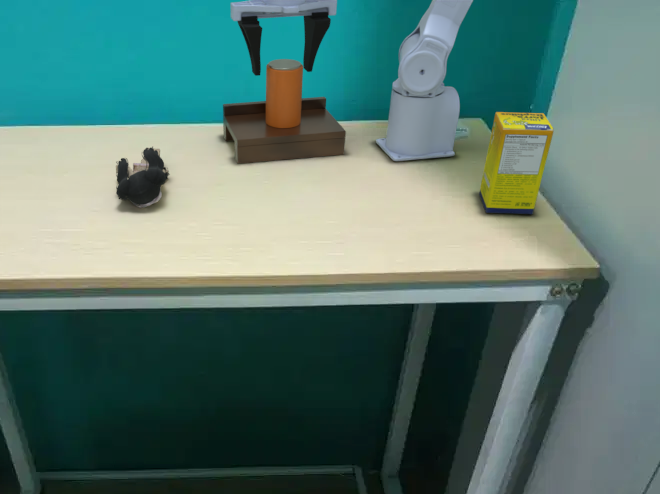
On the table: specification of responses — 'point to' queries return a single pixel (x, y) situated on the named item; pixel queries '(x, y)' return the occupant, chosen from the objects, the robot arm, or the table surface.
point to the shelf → (282, 132)
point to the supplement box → (515, 162)
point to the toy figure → (142, 178)
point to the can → (283, 93)
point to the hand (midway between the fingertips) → (282, 71)
